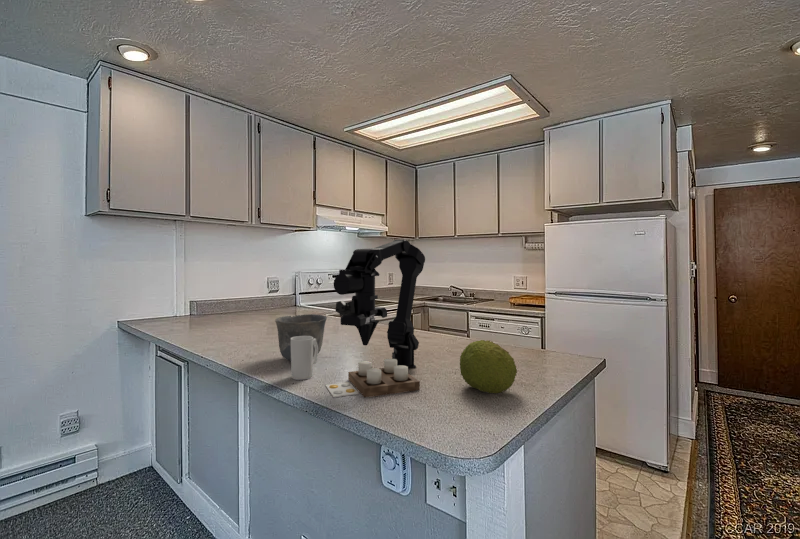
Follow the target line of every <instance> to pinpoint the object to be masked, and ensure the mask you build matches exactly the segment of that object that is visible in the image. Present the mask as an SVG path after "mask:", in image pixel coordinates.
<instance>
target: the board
mask: <svg viewBox="0 0 800 539" xmlns="http://www.w3.org/2000/svg"><path fill="white" fill-rule="evenodd" d="M378 369H381V383H379V384H368V383H367V376H361V375H359V374H358V370H353V371H352V370H351V371H348V373H347V374H348V375H347V376H348V378H347V379H348V382H350V383H351V384H352V385H353V387H354V388H355V389H356V390H357V391H358V392H359V394H360V395H361V396H362V397H363V398H364V399H365V398H373V397H378V396H379V397H380V396H386V395H387V396H388V395H393V394H401V393H407V392H413V391H415V392H416V391H420V389H421V387H420V386H421V384H420V380H418V379H417V378H415V377H414V376H413V375H411V374H410V373H408V379H407V380H404V381H398V380H395V379H394V373H387V372H384V367H380V368H378Z"/></svg>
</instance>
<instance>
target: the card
mask: <svg viewBox="0 0 800 539" xmlns="http://www.w3.org/2000/svg"><path fill="white" fill-rule="evenodd" d="M325 387H326V389H327V390H328V392H329V393H330V395H331V397H332V398H334V399H335V398H340V397H341V398H342V396H343V397H348V396H355V395H356V396H357V395H360V392H359V391H358V390H357V389H356V388H355V387H354V386H353V384H352V383H351V382H350V381H348V382H339V383H331V384H330V383H329V384H325Z"/></svg>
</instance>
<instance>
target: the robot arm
mask: <svg viewBox="0 0 800 539" xmlns="http://www.w3.org/2000/svg"><path fill="white" fill-rule="evenodd" d="M393 256H394V257H395V260H396V261H398V262H399V263H398V267H399V270H400V273H401V281H400V287H399V288H400V289H399V295H398V302H397V306H396V315H395V317H394V318H393V319H392V320H391V321H389V322H388V327H387V331H386V334H387V335H386V336H387V338H386V339H387V342H388V345H389V348H391V349H392V348H393V352H391V359H397V366H398V365H404V366H407V367H408V369H412V368H414V369H415V368H417V365H415V351H417V349H418V348H419V344H420V341H419V340H418V338H417V337H416V336H415V334H414V333H415V328H414V324H413V322H412V320H411V319H412V318H411V317H412V312H413V305H414V298H415V291H416V285H417V278H418V276H420V274H421V273H422V271H423V270H424V265H425V263H426V257H425V254H424V253H423V251H421V249H420V248H418V247H417V246H414V245H413V244H412V243H410V242H409V240H407V239H394V240H393V241H391V242H388V243H385V244H382V245H379V246H376V247H374V248H373V247H372V248H357V249H354V250H353V251H352V255H351V257H350V258H349V261H348V263H347V265H346V266H345V269H339V270H338V274H336V276H335V278H334V280H333V288H334V290H335V292H336V293H337V294H338V295H341V296H344V295H352V294H355V295H352V297H351V300H350V301H347V302H346V301H344V300H340V301H337V302H336V303H335V310H334V311H335V312H336V313H338V315H339V316H340V326H351V327H353V326H354V327H356V329H357V330H358V334H359V337H360V340H361V343H362V345H363V346H366V347H367V346H368V345H369V342H370V340H371V338H372V336H373V334H374V331H375V329H376V327H377V325H378V323H379V322H380V320H378V319H376V318H375V317H381V318H382V319H384V318H387V317H388V310H387V308H385V307H378V306H376V300H377V299H378V296H379V295H378V294H376V277H379V276H380V275H381V274H380V273H379V272H378V271H377V268H378V267H379V266H381V264H382V262H383V261H384V260H386V259H388V258H389V259H390V258H392V257H393Z"/></svg>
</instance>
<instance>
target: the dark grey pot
mask: <svg viewBox="0 0 800 539" xmlns="http://www.w3.org/2000/svg"><path fill="white" fill-rule="evenodd" d="M326 321H327V315H323V314H314V313H313V314H300V315H299V314H298V315H285V316H284V315H283V316H280V317H277V318H275V320H274V322H275V324H276V328H277V337H278V348H279V352H280V355H281V356H282V358H283V359H285V360H287V361H289V362H291V338H292V337H296V336H312V337H313V339H314V338H315V339H316V342H317V345H318V354H319V353H320V352H321V349H322V347H323V346H322V345H323V340H324V333H325V328H326V327H325V325H326ZM314 354H315V347H314V345H313V357H314Z"/></svg>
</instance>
